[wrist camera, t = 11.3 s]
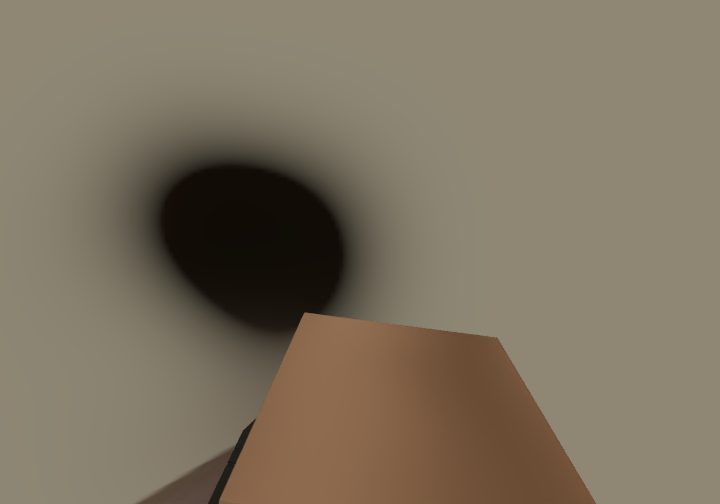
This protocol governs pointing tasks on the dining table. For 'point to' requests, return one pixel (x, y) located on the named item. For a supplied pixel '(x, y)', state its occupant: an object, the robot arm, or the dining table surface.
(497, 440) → the wooden block
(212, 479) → the dining table surface
